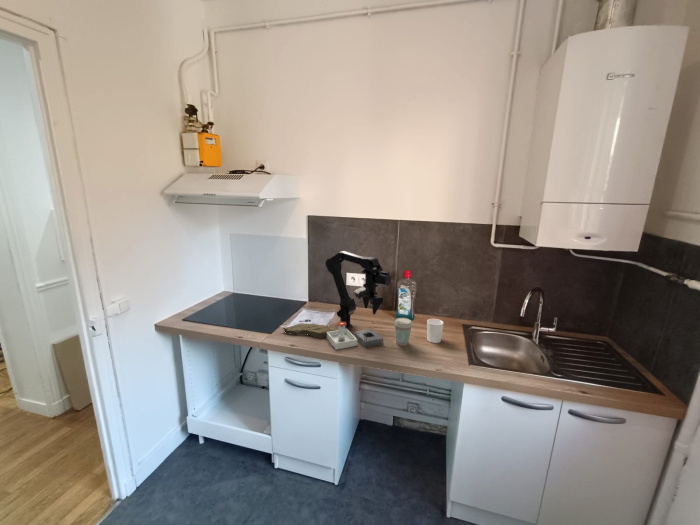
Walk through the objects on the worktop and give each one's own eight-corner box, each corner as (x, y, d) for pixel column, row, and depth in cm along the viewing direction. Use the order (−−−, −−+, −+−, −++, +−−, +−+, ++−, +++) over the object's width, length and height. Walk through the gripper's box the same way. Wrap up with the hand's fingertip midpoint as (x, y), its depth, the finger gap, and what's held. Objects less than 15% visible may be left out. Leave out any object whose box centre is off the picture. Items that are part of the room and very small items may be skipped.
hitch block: (354, 337, 157) (354, 331, 157) (371, 333, 161) (372, 328, 161) (364, 347, 147) (365, 341, 146) (383, 343, 151) (383, 338, 150)
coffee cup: (390, 340, 154) (391, 318, 151) (405, 338, 157) (406, 316, 154) (398, 348, 146) (400, 325, 143) (414, 346, 149) (415, 322, 146)
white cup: (431, 344, 150) (432, 325, 148) (423, 337, 158) (424, 319, 156) (445, 342, 153) (446, 324, 150) (436, 335, 160) (438, 318, 158)
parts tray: (326, 337, 156) (326, 332, 156) (346, 334, 161) (346, 328, 160) (335, 349, 144) (335, 343, 144) (357, 345, 149) (357, 339, 148)
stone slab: (335, 328, 166) (334, 320, 164) (330, 342, 155) (329, 333, 153) (288, 326, 171) (287, 319, 169) (280, 339, 160) (279, 331, 158)
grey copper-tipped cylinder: (335, 339, 153) (336, 321, 151) (344, 337, 155) (344, 320, 153) (339, 343, 150) (339, 325, 148) (347, 341, 151) (347, 323, 149)
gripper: (349, 279, 161) (348, 307, 164) (364, 289, 144) (363, 320, 148) (368, 277, 165) (367, 304, 169) (385, 286, 148) (383, 316, 152)
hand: (369, 311), depth 159 cm, fingers open, 9 cm apart
